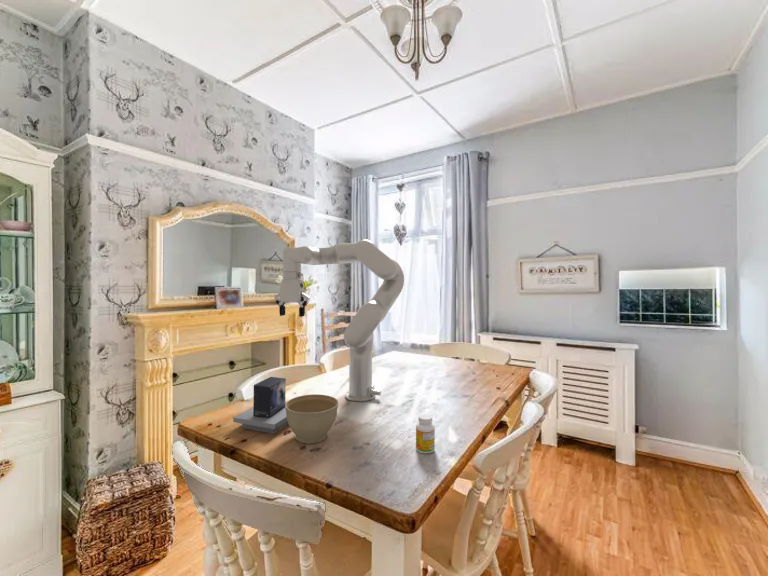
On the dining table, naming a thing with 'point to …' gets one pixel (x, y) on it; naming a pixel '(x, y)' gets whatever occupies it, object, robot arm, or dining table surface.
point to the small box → (269, 397)
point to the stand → (262, 421)
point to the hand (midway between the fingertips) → (292, 315)
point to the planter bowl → (311, 416)
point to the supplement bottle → (425, 434)
